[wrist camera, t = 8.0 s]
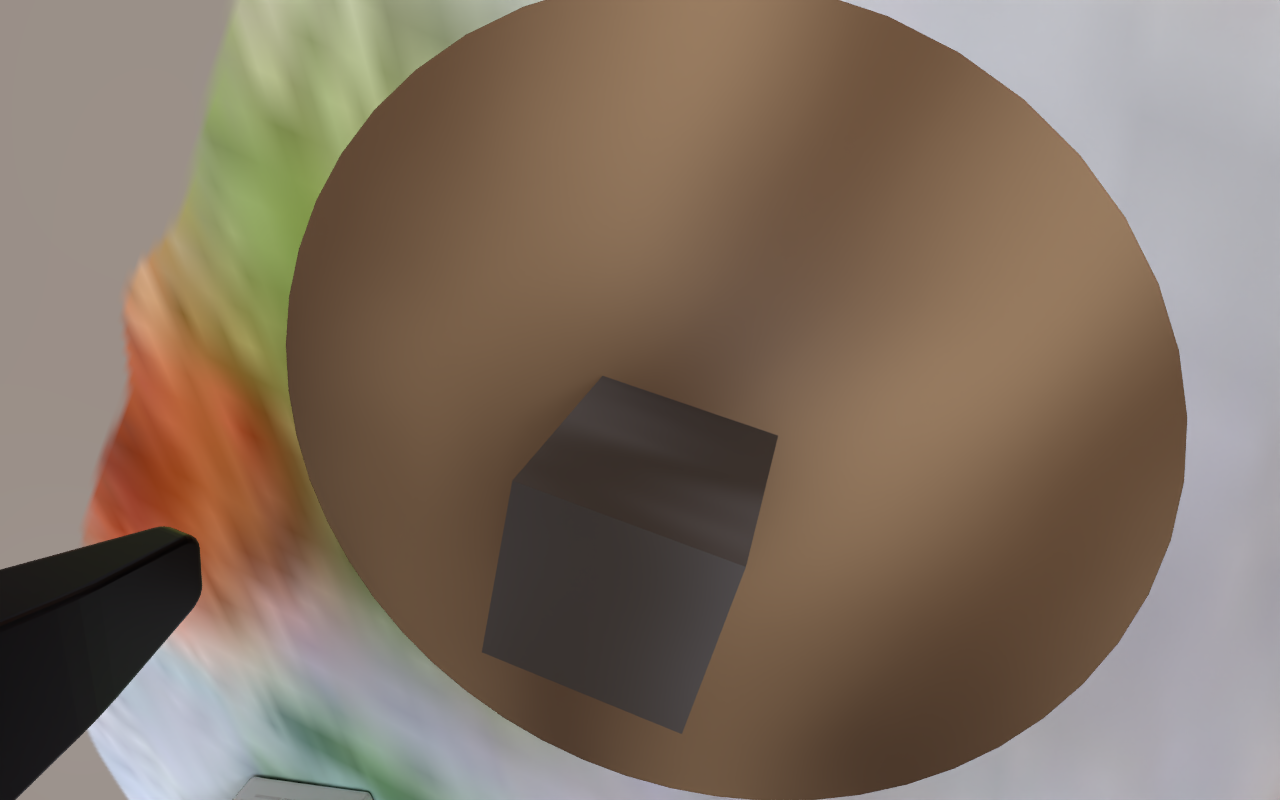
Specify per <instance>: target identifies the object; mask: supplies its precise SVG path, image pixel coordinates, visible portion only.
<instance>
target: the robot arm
mask: <svg viewBox="0 0 1280 800" xmlns="http://www.w3.org/2000/svg"><path fill="white" fill-rule="evenodd" d="M201 591H202V575H201V560H200V547H199V543H198V541H197V540H196V538H195V537H193V536H191V535H189V534H186V533H184V532H181V531H179V530H176V529H174V528H171V527H165V526H163V527H156V528H152V529H148V530H145V531H141V532H137V533H134V534H130V535H126V536H122V537H119V538H115V539H111V540H108V541H104V542H100V543H97V544H93V545H89V546H86V547H82V548H78V549H75V550H71V551H67V552H64V553H60V554H57V555H53V556H49V557H46V558H42V559H38V560H34V561H30V562H27V563H23V564H19V565H16V566H12V567H8V568H5V569H1V570H0V800H16V799H17V798H18V797H19V796H20V794H22V793H23V792H24V791H25V790H26V789H27V788H28V787H29V786H30V785H31V784H32V783H33V782H34V781H35V780H36V779H37V778H38V777H39V776H40V775H41V774H42V773H43V772H44V771H45V770H46V769H47V768H48V767H49V766H50V765H51V764H52V763H53V762H54V761H55V760H56V759H57V758H58V757H59V756H60V755H62V754H63V753H64V752H65V751H66V750H67V749H68V748H69V747H70V746H71V745H72V744H73V743H74V742H75V741H76V740H77V739H78V738H79V737H80V736H81V735H82V734H83V733H84V732H85V731H86V730H87V729H88V728H89V727H90V726H91V725H92V724H93V723H94V722H95V721H96V720H97V719H98V718H99V717H100V715H101V714H102V713H103V712H104V711H105V710H106V709H107V708H108V707H109V706H110V704H111V703H112V702H113V701H114V700H115V699H116V698H117V697H118V696H119V694H120V693H121V692H122V691H123V690H124V689H125V687H126V686H127V685H128V684H129V683H130V682H131V680H132V679H133V678H134V677H135V676H136V675H137V673H138V672H139V671H140V670H141V669H142V668H143V666H144V665H145V664H146V663H147V662H148V661H149V659H150V658H151V657H152V656H153V655H154V654H155V652H156V651H157V650H158V649H159V648H160V647H161V645H162V644H163V643H164V642H165V641H166V640H167V638H168V637H169V636H170V635H171V634H172V633H173V631H174V630H175V629H176V628H177V627H178V626H179V624H180V623H181V622H182V621H183V620H184V619H185V617H186V616H187V615H188V614H189V613H190V612H191V610H192V609H193V608H194V606H195V605H196V603H197V601H198V599H199V597H200V595H201Z"/></svg>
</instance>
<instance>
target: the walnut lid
mask: <svg viewBox="0 0 1280 800" xmlns="http://www.w3.org/2000/svg"><path fill="white" fill-rule="evenodd" d="M286 353H287V370H288V387H289V395H290V401H291V406H292V412H293V418H294V423H295V429H296V434H297V438H298V442H299V445H300V448H301V452H302V455H303V458H304V462H305V465H306V468H307V472H308V475H309V478H310V481H311V484H312V486H313V488H314V491H315V493H316V495H317V498H318V500H319V503H320V505H321V507H322V510H323V512H324V514H325V517H326V519H327V522H328V523H329V525H330V527H331V529H332V531H333V533H334V534H335V536H336V538H337V540H338V542H339V543H340V545H341V547H342V549H343V551H344V553H345V554H346V556H347V558H348V560H349V562H350V563H351V564H352V566H353V567H354V569H355V570H356V572H357V573H358V575H359V576H360V578H361V579H362V581H363V582H364V584H365V585H366V587H367V588H368V589H369V591H370V592H371V594H372V595H373V597H374V598H375V599H376V601H377V602H378V603H379V604H380V605H381V607H382V608H383V609H384V610H385V611H386V613H387V614H388V615H389V616H390V617H391V619H392V620H393V621H394V622H395V624H396V625H397V626H398V627H399V628H400V630H401V631H402V632H403V633H404V634H405V635H406V636H407V637H408V638H409V639H410V640H411V641H412V642H413V643H414V644H415V645H416V646H417V647H418V648H419V649H420V650H421V651H422V652H423V653H424V654H425V655H426V656H427V657H428V658H429V659H430V660H431V661H432V662H433V663H434V664H435V665H436V666H437V667H439V668H440V669H441V670H442V671H443V672H445V673H446V674H447V675H448V676H449V677H450V678H452V679H453V680H454V681H455V682H456V683H458V684H459V685H460V686H461V687H462V688H463V689H465V690H466V691H467V692H468V693H470V694H471V695H473V696H474V697H475V698H477V699H478V700H480V701H481V702H482V703H484V704H485V705H487V706H488V707H490V708H491V709H492V710H494V711H495V712H497V713H498V714H499V715H501V716H502V717H504V718H505V719H507V720H509V721H511V722H512V723H514V724H516V725H517V726H519V727H521V728H523V729H524V730H526V731H528V732H529V733H531V734H533V735H534V736H536V737H538V738H540V739H541V740H543V741H545V742H547V743H549V744H552V745H554V746H556V747H558V748H560V749H562V750H564V751H566V752H568V753H570V754H573V755H575V756H577V757H579V758H581V759H583V760H586V761H588V762H591V763H594V764H596V765H599V766H602V767H604V768H607V769H610V770H612V771H615V772H618V773H620V774H623V775H626V776H629V777H633V778H636V779H640V780H644V781H647V782H651V783H654V784H658V785H662V786H665V787H669V788H674V789H679V790H685V791H690V792H695V793H701V794H706V795H712V796H719V797H730V798H741V799H752V800H816V799H826V798H835V797H844V796H853V795H861V794H865V793H870V792H874V791H879V790H884V789H888V788H893V787H897V786H902V785H907V784H910V783H913V782H916V781H918V780H921V779H924V778H927V777H930V776H933V775H936V774H939V773H942V772H945V771H948V770H951V769H954V768H956V767H958V766H960V765H962V764H964V763H966V762H968V761H971V760H973V759H975V758H977V757H979V756H981V755H983V754H985V753H987V752H989V751H991V750H994V749H996V748H998V747H1000V746H1001V745H1003V744H1004V743H1006V742H1007V741H1009V740H1011V739H1012V738H1014V737H1015V736H1017V735H1018V734H1020V733H1021V732H1023V731H1024V730H1026V729H1027V728H1029V727H1031V726H1032V725H1034V724H1035V723H1037V722H1038V721H1040V720H1041V719H1043V718H1044V717H1045V716H1046V715H1048V714H1049V713H1050V712H1051V711H1052V710H1053V709H1054V708H1056V707H1057V706H1058V705H1059V704H1060V703H1061V702H1063V701H1064V700H1065V699H1066V698H1067V697H1068V696H1070V695H1071V694H1072V693H1073V692H1074V691H1075V690H1076V689H1078V688H1079V687H1080V686H1081V685H1082V684H1083V683H1084V682H1085V681H1086V680H1087V679H1088V677H1089V676H1090V675H1091V674H1092V673H1093V672H1094V671H1095V669H1096V668H1097V667H1098V666H1099V665H1100V664H1101V662H1102V661H1103V660H1104V659H1105V658H1106V657H1107V655H1108V654H1109V653H1110V652H1111V651H1112V650H1113V648H1114V647H1115V646H1116V645H1117V644H1118V643H1119V641H1120V640H1121V638H1122V636H1123V635H1124V633H1125V631H1126V630H1127V628H1128V627H1129V625H1130V623H1131V622H1132V620H1133V619H1134V617H1135V615H1136V614H1137V612H1138V610H1139V609H1140V607H1141V606H1142V604H1143V602H1144V601H1145V599H1146V598H1147V596H1148V594H1149V592H1150V589H1151V587H1152V584H1153V582H1154V580H1155V577H1156V575H1157V572H1158V570H1159V568H1160V565H1161V563H1162V560H1163V558H1164V555H1165V553H1166V551H1167V548H1168V546H1169V543H1170V541H1171V537H1172V532H1173V528H1174V523H1175V519H1176V514H1177V510H1178V506H1179V501H1180V497H1181V492H1182V488H1183V483H1184V471H1185V451H1186V431H1187V412H1186V404H1185V396H1184V388H1183V380H1182V372H1181V364H1180V356H1179V350H1178V346H1177V343H1176V340H1175V337H1174V333H1173V330H1172V327H1171V323H1170V320H1169V317H1168V314H1167V310H1166V307H1165V304H1164V300H1163V297H1162V294H1161V291H1160V287H1159V284H1158V282H1157V280H1156V278H1155V276H1154V274H1153V272H1152V270H1151V268H1150V266H1149V264H1148V262H1147V260H1146V258H1145V256H1144V254H1143V252H1142V250H1141V248H1140V246H1139V244H1138V242H1137V240H1136V238H1135V236H1134V234H1133V232H1132V230H1131V228H1130V226H1129V224H1128V222H1127V220H1126V218H1125V216H1124V215H1123V214H1122V212H1121V211H1120V210H1119V208H1118V207H1117V205H1116V204H1115V203H1114V201H1113V200H1112V199H1111V197H1110V196H1109V194H1108V193H1107V192H1106V190H1105V189H1104V188H1103V186H1102V185H1101V183H1100V182H1099V181H1098V179H1097V178H1096V177H1095V175H1094V174H1093V172H1092V171H1091V170H1090V168H1089V167H1088V165H1087V164H1086V163H1085V161H1084V160H1083V159H1082V157H1081V156H1080V155H1079V154H1078V153H1077V152H1076V151H1075V150H1074V149H1073V148H1072V147H1071V146H1070V145H1069V144H1068V143H1067V142H1066V141H1065V140H1064V139H1063V138H1062V137H1061V136H1060V135H1059V134H1058V133H1057V132H1056V131H1055V130H1054V129H1053V128H1052V127H1051V126H1050V125H1049V124H1048V123H1047V122H1046V121H1045V120H1044V119H1043V118H1042V117H1041V116H1040V115H1039V114H1038V113H1037V112H1036V111H1035V110H1034V109H1033V108H1032V107H1031V106H1030V105H1029V104H1028V103H1027V102H1026V101H1025V100H1024V99H1022V98H1021V97H1020V96H1018V95H1017V94H1015V93H1014V92H1013V91H1011V90H1010V89H1009V88H1007V87H1006V86H1004V85H1003V84H1002V83H1000V82H999V81H997V80H996V79H995V78H993V77H992V76H991V75H989V74H988V73H986V72H985V71H984V70H982V69H981V68H980V67H978V66H977V65H975V64H974V63H973V62H971V61H970V60H968V59H967V58H966V57H964V56H963V55H962V54H960V53H959V52H957V51H955V50H953V49H951V48H949V47H947V46H945V45H943V44H941V43H939V42H937V41H935V40H933V39H931V38H929V37H927V36H925V35H923V34H921V33H919V32H917V31H916V30H914V29H912V28H910V27H908V26H906V25H904V24H902V23H900V22H898V21H896V20H894V19H892V18H890V17H888V16H885V15H882V14H879V13H876V12H873V11H870V10H867V9H864V8H861V7H858V6H855V5H852V4H849V3H846V2H843V1H840V0H544V1H541V2H538V3H534V4H531V5H528V6H525V7H522V8H520V9H518V10H516V11H514V12H512V13H510V14H508V15H506V16H504V17H502V18H500V19H497V20H495V21H493V22H491V23H489V24H487V25H485V26H483V27H481V28H479V29H477V30H475V31H473V32H471V33H469V34H467V35H465V36H464V37H462V38H461V39H459V40H458V41H456V42H455V43H454V44H452V45H451V46H449V47H448V48H446V49H445V50H444V51H442V52H441V53H439V54H438V55H436V56H435V57H434V58H432V59H431V60H429V61H428V62H426V63H425V64H424V65H422V66H421V67H419V68H418V69H416V70H415V71H414V72H413V73H412V74H411V75H410V76H409V77H408V78H407V79H406V80H405V81H404V82H403V83H402V84H401V85H400V86H399V87H398V88H397V89H396V90H395V91H394V92H393V93H392V94H391V95H389V96H388V97H387V98H386V99H385V100H384V101H383V102H382V103H381V104H380V105H379V106H378V107H377V108H376V109H375V110H374V111H373V113H372V114H371V115H370V117H369V118H368V119H367V121H366V122H365V123H364V125H363V126H362V127H361V129H360V130H359V131H358V133H357V134H356V135H355V137H354V138H353V139H352V141H351V142H350V143H349V145H348V146H347V147H346V149H345V150H344V151H343V152H342V154H341V156H340V157H339V159H338V161H337V163H336V165H335V167H334V169H333V170H332V172H331V174H330V176H329V178H328V180H327V182H326V184H325V185H324V187H323V189H322V191H321V193H320V195H319V197H318V198H317V200H316V203H315V206H314V209H313V211H312V214H311V217H310V220H309V222H308V225H307V228H306V231H305V234H304V236H303V239H302V242H301V245H300V248H299V252H298V257H297V262H296V266H295V271H294V276H293V281H292V286H291V291H290V295H289V308H288V323H287V337H286Z"/></svg>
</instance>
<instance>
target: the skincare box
mask: <svg viewBox="0 0 1280 800" xmlns="http://www.w3.org/2000/svg"><path fill="white" fill-rule="evenodd" d="M233 800H373V799H372V797H371V795H370V794H369V793H368V792H362V791H354V790H346V789H339V788H332V787H324V786H316V785H309V784H302V783H294V782H288V781H281V780H273V779H266V778H259V777H253V778H251V779H250V780H249V781H248V782H247V783H246V784H245V786H244V787H243V788H242V789H241V790H240V792H239V793H238V794H237V795H236V796H235V797H234V799H233Z"/></svg>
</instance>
